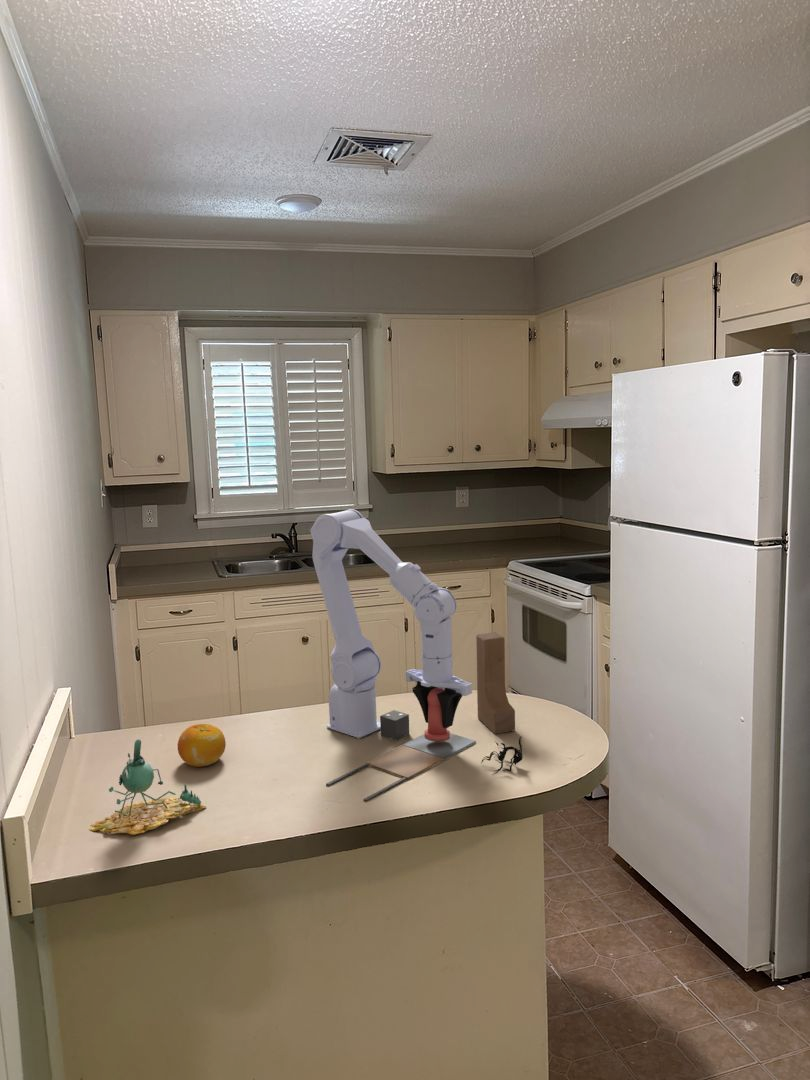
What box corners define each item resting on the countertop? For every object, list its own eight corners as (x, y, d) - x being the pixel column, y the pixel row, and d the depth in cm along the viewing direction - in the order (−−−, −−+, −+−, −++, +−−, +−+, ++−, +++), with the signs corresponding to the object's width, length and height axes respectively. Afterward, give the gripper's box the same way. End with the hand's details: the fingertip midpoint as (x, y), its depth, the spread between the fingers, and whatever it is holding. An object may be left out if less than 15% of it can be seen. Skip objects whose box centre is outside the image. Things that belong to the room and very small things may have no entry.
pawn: (419, 737, 150) (420, 688, 149) (435, 730, 154) (436, 683, 153) (439, 743, 147) (440, 693, 146) (454, 736, 151) (456, 688, 150)
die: (380, 735, 156) (380, 715, 156) (394, 729, 159) (393, 709, 159) (395, 740, 154) (395, 720, 153) (409, 733, 157) (408, 714, 156)
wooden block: (515, 731, 156) (515, 643, 153) (494, 734, 155) (493, 645, 152) (497, 715, 165) (495, 631, 162) (477, 718, 163) (475, 634, 161)
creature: (481, 781, 138) (526, 774, 136) (474, 752, 137) (519, 745, 136) (484, 762, 146) (527, 755, 144) (477, 735, 145) (520, 727, 143)
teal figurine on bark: (206, 830, 122) (188, 741, 120) (85, 857, 119) (63, 766, 117) (209, 800, 132) (192, 717, 129) (97, 824, 129) (77, 740, 126)
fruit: (209, 758, 140) (204, 714, 143) (170, 771, 142) (165, 728, 145) (236, 761, 147) (231, 719, 150) (198, 774, 149) (193, 732, 153)
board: (325, 784, 136) (325, 782, 136) (435, 730, 158) (435, 728, 158) (367, 802, 129) (367, 799, 129) (475, 742, 151) (475, 740, 151)
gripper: (394, 653, 150) (396, 721, 152) (454, 667, 141) (456, 739, 143) (418, 644, 155) (420, 710, 157) (478, 657, 146) (479, 727, 148)
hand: (438, 723), depth 150 cm, fingers closed on pawn, 4 cm apart
